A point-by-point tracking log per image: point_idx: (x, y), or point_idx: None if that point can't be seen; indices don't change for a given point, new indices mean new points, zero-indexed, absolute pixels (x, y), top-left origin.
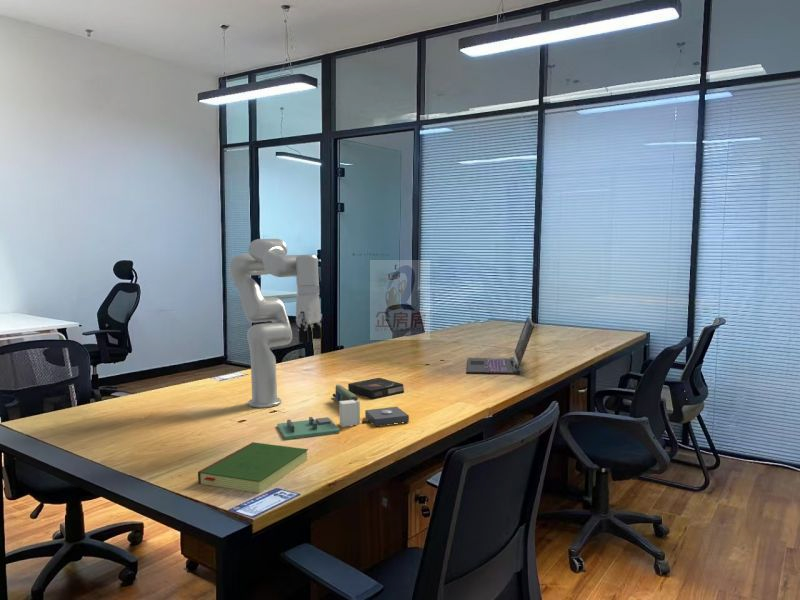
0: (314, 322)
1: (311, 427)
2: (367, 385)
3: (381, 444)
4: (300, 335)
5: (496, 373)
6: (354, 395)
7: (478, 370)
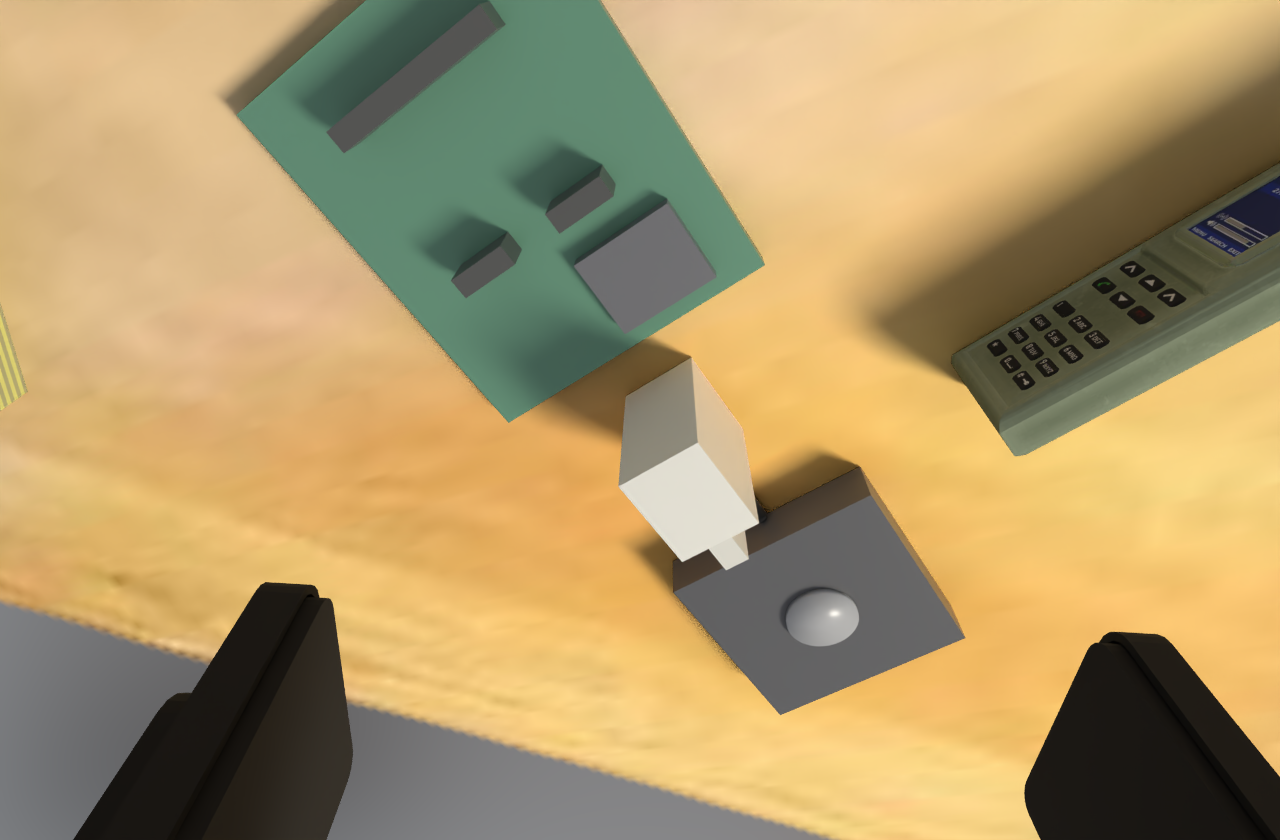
0: None
1: (501, 226)
2: None
3: (406, 637)
4: (88, 828)
5: None
6: (1046, 434)
7: None
